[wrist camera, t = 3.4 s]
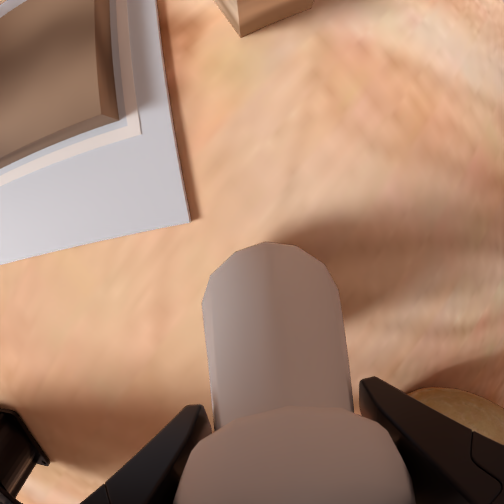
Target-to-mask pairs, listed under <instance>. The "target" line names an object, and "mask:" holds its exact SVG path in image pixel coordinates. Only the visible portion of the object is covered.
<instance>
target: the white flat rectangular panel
mask: <svg viewBox="0 0 504 504" xmlns="http://www.w3.org/2000/svg"><path fill="white" fill-rule="evenodd" d="M25 1H27V0H7V1H5V2H4V3H2V4H1V5H0V18H1V17H2V16H4V15H5V14H7V13H8V12H9V11H11V10H12V9H14V8H16V7H17V6H19V5H20V4H22V3H23V2H25ZM109 1H110V28H111V45H112V58H113V70H114V80H115V89H116V98H117V106H118V114H119V121H116V122H113V123H110V124H107V125H104V126H101V127H98V128H95V129H93V130H90V131H87V132H84V133H82V134H79V135H76V136H74V137H71V138H69V139H66V140H63V141H61V142H58V143H56V144H54V145H51V146H49V147H46V148H44V149H42V150H39V151H37V152H35V153H33V154H30V155H28V156H26V157H24V158H22V159H20V160H18V161H15V162H13V163H11V164H9V165H7V166H5V167H3V168H1V169H0V265H2V264H6V263H10V262H14V261H18V260H22V259H26V258H30V257H34V256H38V255H42V254H46V253H50V252H54V251H59V250H63V249H67V248H71V247H76V246H80V245H85V244H89V243H93V242H98V241H102V240H107V239H112V238H116V237H121V236H126V235H130V234H135V233H140V232H145V231H150V230H154V229H159V228H164V227H169V226H174V225H180V224H185V223H190V222H191V217H190V212H189V207H188V202H187V197H186V191H185V186H184V181H183V176H182V170H181V165H180V159H179V154H178V148H177V142H176V136H175V130H174V124H173V118H172V112H171V106H170V99H169V93H168V86H167V79H166V72H165V65H164V58H163V50H162V43H161V35H160V26H159V18H158V9H157V0H109Z"/></svg>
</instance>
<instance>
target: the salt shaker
mask: <svg viewBox="0 0 504 504" xmlns="http://www.w3.org/2000/svg"><path fill="white" fill-rule="evenodd" d="M202 312H203V321H204V331H205V340H206V348H207V357H208V366H209V378H210V389H211V400H212V410H213V420H214V429H215V432H214V433H212V434H210V435H209V436H207V437H205V438H204V439H202V440H200V441H199V442H198V444H197V445H196V446H195V447H194V449H193V450H192V451H191V453H190V456H189V458H188V461H187V463H186V466H185V468H184V471H183V473H182V476H181V478H180V482H179V485H178V488H177V491H176V494H175V497H174V501H173V504H416V500H415V494H414V489H413V483H412V478H411V476H410V474H409V472H408V469H407V467H406V465H405V463H404V461H403V459H402V457H401V455H400V453H399V452H398V450H397V448H396V446H395V444H394V442H393V440H392V438H391V437H390V435H389V433H388V431H387V430H386V429H385V428H383V427H382V426H381V425H380V424H379V423H378V422H375V421H373V420H370V419H368V418H365V417H363V416H360V415H358V414H355V413H354V406H353V396H352V386H351V377H350V368H349V360H348V352H347V344H346V337H345V330H344V323H343V316H342V309H341V303H340V296H339V290H338V288H337V286H336V284H335V283H334V281H333V279H332V277H331V275H330V273H329V272H328V270H327V268H326V266H325V264H323V263H322V262H320V261H319V260H317V259H316V258H314V257H313V256H311V255H310V254H308V253H307V252H305V251H304V250H302V249H300V248H299V247H297V246H295V245H287V244H279V243H271V242H263V243H260V244H257V245H254V246H251V247H248V248H245V249H242V250H239V251H236V252H235V253H234V254H232V255H231V256H230V257H229V258H228V259H227V260H226V261H225V262H224V263H223V264H222V265H221V266H220V267H219V268H218V269H216V270H215V271H214V272H213V273H212V274H211V275H210V278H209V281H208V284H207V288H206V291H205V294H204V297H203V300H202Z"/></svg>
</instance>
